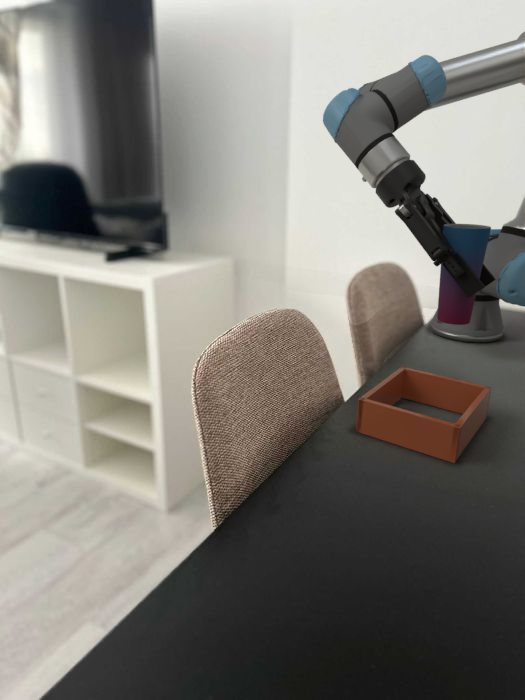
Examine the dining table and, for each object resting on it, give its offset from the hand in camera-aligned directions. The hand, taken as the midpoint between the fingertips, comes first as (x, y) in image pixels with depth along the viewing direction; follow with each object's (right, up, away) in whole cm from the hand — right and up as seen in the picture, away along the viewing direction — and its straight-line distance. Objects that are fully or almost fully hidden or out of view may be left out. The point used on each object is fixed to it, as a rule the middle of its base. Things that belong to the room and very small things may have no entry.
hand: (482, 288), depth 79 cm
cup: (-3, -5, +4) cm, 7 cm away
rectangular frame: (-11, -20, -5) cm, 24 cm away
